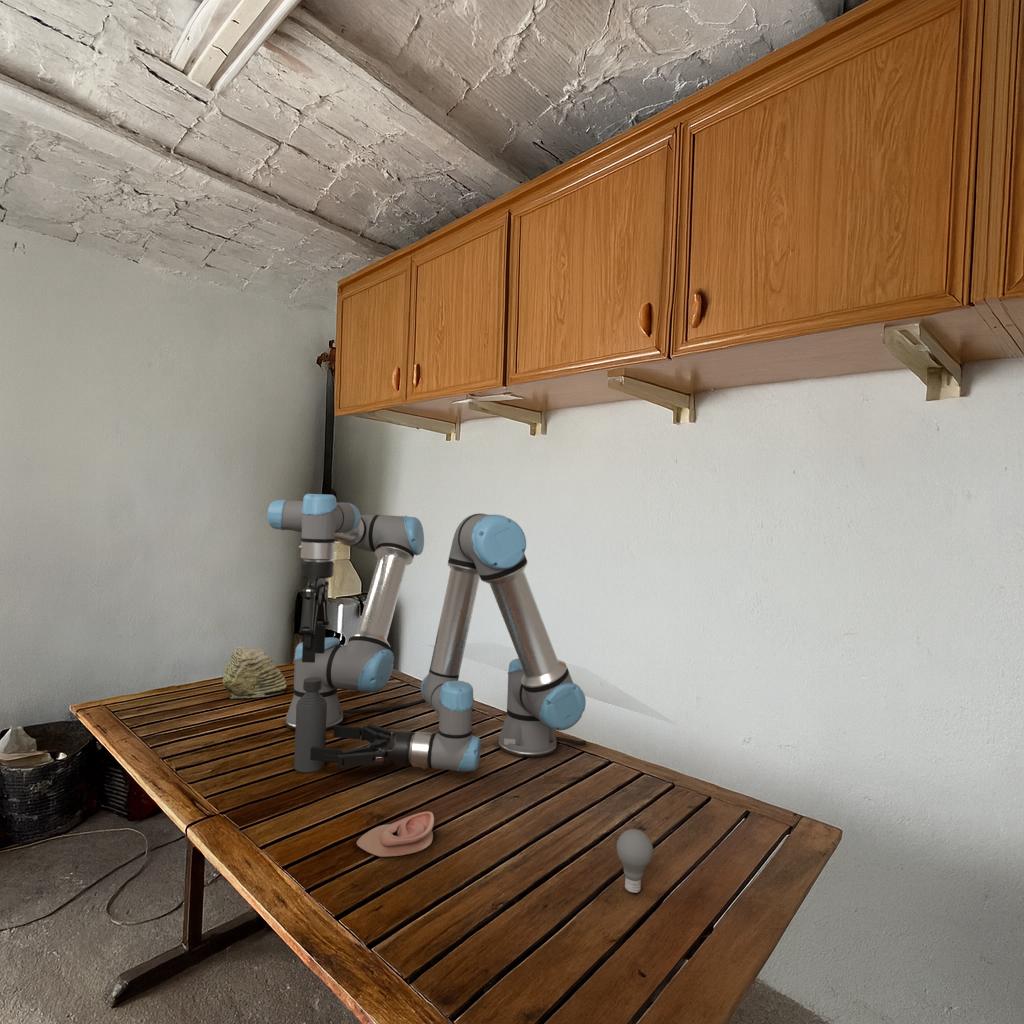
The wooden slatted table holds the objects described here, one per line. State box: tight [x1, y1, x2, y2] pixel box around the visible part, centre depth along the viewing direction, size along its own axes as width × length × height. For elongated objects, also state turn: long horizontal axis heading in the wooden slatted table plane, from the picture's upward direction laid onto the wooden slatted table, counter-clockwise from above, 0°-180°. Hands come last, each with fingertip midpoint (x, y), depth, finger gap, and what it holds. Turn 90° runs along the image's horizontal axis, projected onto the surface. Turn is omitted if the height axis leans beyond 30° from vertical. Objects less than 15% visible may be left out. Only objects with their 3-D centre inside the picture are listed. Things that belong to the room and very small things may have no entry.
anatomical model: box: [356, 811, 435, 858], centre depth 118 cm, size 13×4×12 cm
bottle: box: [293, 690, 327, 773], centre depth 148 cm, size 7×7×20 cm
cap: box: [303, 677, 322, 691], centre depth 148 cm, size 4×4×2 cm
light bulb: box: [615, 828, 654, 894], centre depth 106 cm, size 6×6×10 cm
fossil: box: [222, 646, 288, 699], centre depth 198 cm, size 9×18×15 cm, turn 132°
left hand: (313, 657), depth 148 cm, fingers open, 8 cm apart
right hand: (323, 741), depth 147 cm, fingers open, 13 cm apart
